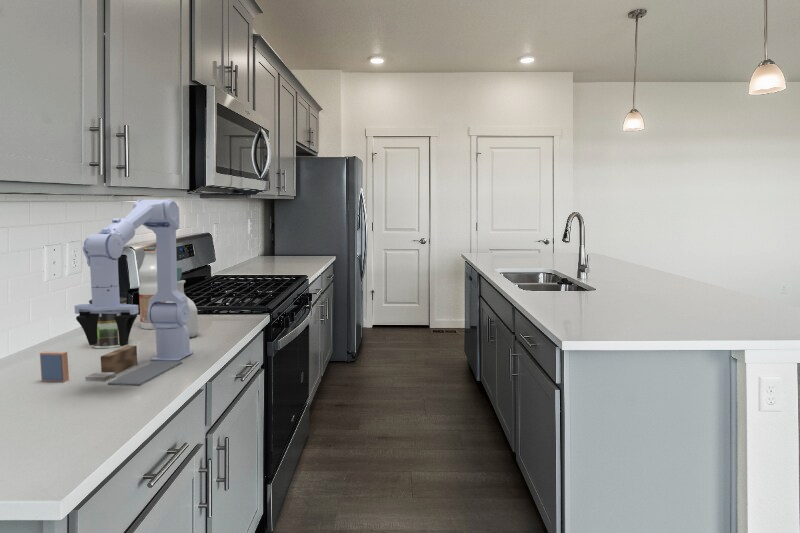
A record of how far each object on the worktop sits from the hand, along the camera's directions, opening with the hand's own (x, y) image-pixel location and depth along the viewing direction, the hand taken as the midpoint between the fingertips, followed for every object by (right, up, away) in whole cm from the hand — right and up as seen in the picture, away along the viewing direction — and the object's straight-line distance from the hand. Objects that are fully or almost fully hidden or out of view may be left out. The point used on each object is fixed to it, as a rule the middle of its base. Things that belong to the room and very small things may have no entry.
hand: (108, 344), depth 140 cm
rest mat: (+4, -9, +13) cm, 16 cm away
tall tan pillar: (-5, -9, +14) cm, 18 cm away
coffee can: (-21, -6, +46) cm, 51 cm away
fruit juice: (-19, -4, +74) cm, 76 cm away
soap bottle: (-4, -5, +57) cm, 57 cm away
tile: (-16, -10, +7) cm, 20 cm away
